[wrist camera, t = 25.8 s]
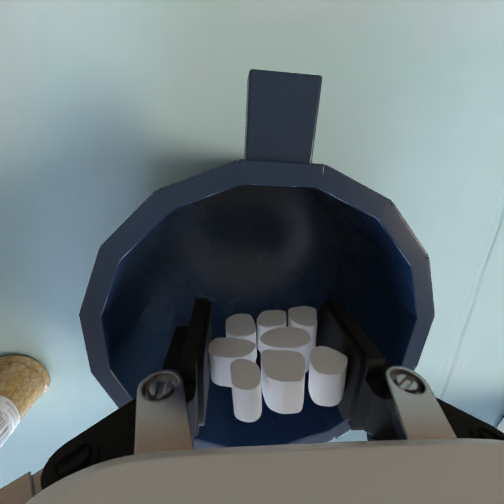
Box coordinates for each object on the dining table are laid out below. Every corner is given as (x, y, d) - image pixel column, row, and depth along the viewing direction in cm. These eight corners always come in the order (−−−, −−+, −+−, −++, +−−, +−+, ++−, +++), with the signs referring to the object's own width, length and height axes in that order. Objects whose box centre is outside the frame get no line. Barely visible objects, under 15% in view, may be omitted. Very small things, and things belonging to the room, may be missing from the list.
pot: (373, 123, 16) (516, 85, 8) (325, 369, 23) (376, 481, 15) (135, 104, 15) (21, 36, 7) (159, 372, 21) (116, 498, 13)
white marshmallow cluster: (316, 304, 12) (360, 379, 8) (314, 329, 13) (355, 411, 8) (212, 312, 12) (201, 394, 8) (215, 337, 12) (206, 426, 8)
